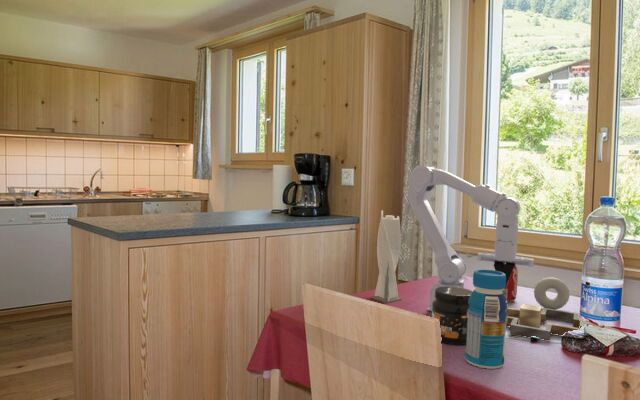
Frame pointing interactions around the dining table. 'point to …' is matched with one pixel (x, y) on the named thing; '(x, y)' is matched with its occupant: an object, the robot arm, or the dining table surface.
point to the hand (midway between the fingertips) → (503, 288)
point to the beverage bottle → (487, 320)
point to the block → (530, 316)
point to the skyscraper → (388, 258)
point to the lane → (545, 313)
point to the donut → (555, 284)
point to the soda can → (511, 286)
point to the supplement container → (452, 313)
